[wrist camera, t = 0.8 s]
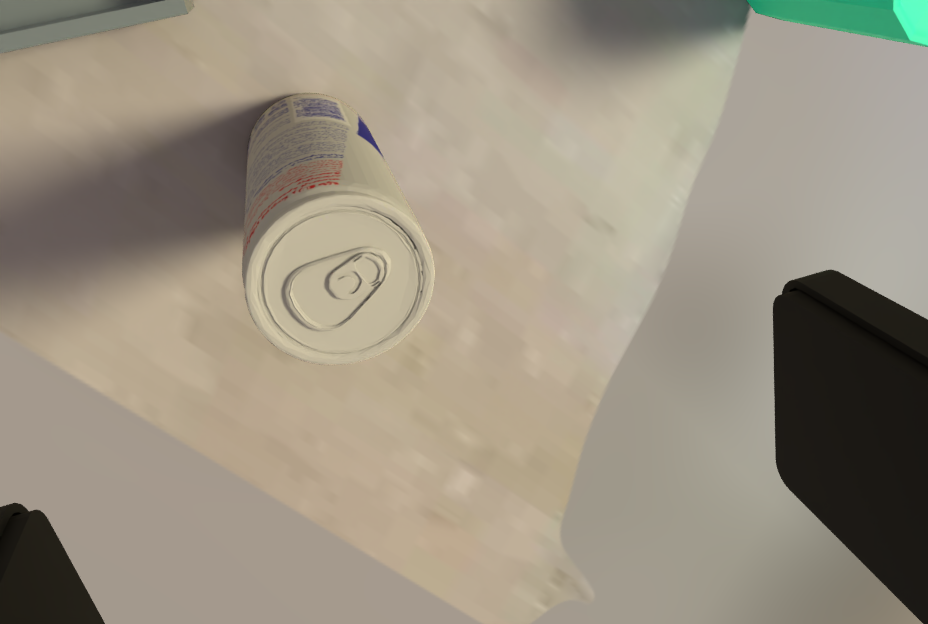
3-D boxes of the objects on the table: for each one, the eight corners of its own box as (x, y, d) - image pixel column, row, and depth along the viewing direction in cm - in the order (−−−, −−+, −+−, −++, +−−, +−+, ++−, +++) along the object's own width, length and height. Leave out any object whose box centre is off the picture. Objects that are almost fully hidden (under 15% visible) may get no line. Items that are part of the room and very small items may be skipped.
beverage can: (231, 189, 36) (215, 344, 22) (270, 70, 34) (278, 164, 21) (348, 228, 38) (395, 390, 25) (391, 118, 36) (467, 230, 23)
